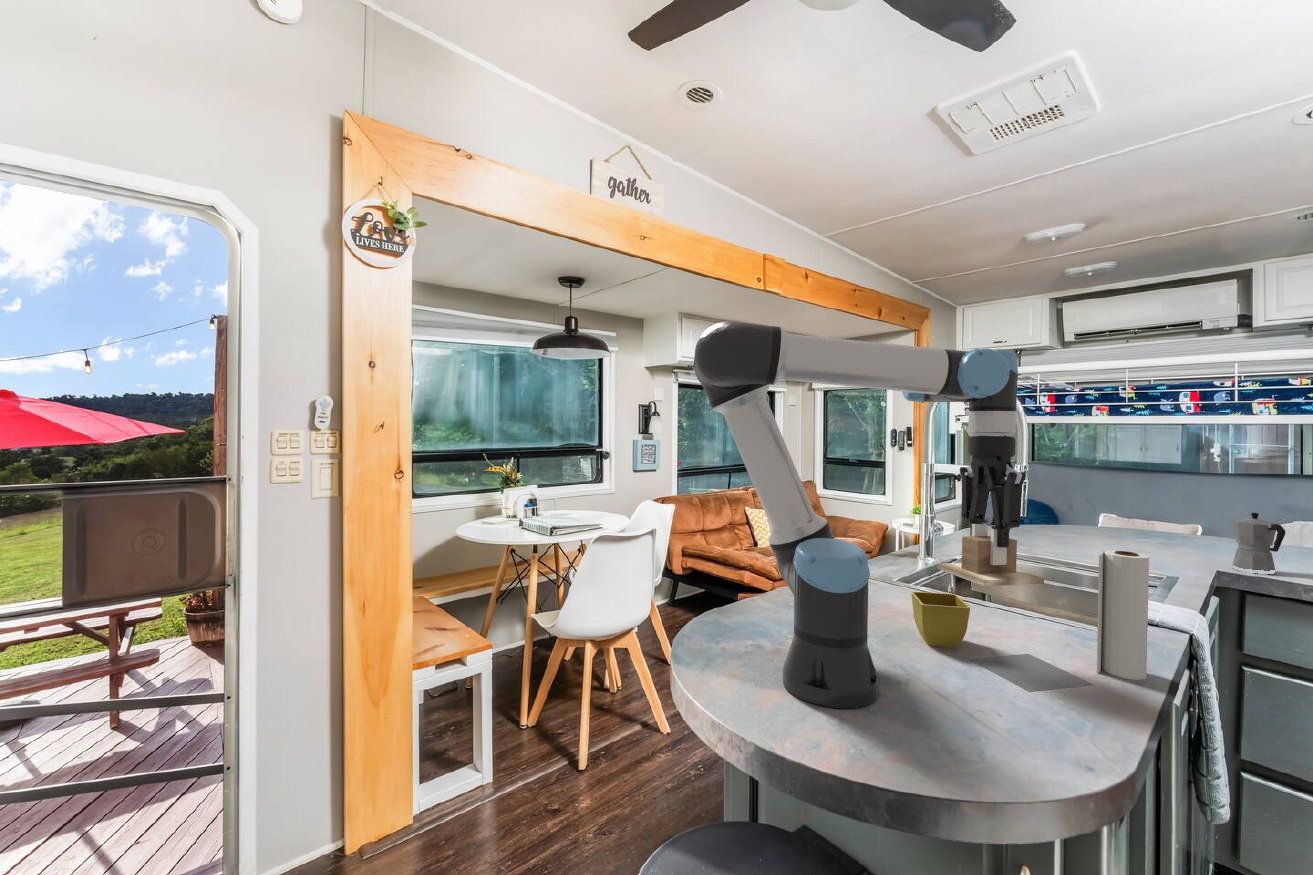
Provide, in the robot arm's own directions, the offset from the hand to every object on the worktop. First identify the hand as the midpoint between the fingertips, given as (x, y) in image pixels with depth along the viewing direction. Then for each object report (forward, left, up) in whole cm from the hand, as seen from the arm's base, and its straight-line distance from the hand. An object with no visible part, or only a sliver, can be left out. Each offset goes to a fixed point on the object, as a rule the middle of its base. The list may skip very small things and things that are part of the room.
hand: (988, 561), depth 103 cm
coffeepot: (+132, +40, -19) cm, 140 cm away
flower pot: (-3, +9, -19) cm, 21 cm away
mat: (+3, -6, -18) cm, 20 cm away
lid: (0, 0, -3) cm, 3 cm away
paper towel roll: (+19, -9, -19) cm, 28 cm away
